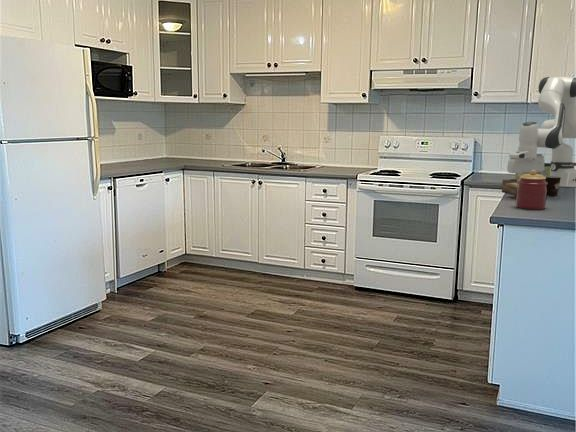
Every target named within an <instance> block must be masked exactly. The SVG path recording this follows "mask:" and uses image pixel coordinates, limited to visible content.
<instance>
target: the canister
mask: <svg viewBox="0 0 576 432" xmlns="http://www.w3.org/2000/svg"><path fill="white" fill-rule="evenodd" d="M520 178H521V179H520V180H519V181H518V182H517V183H518V188H517V195H516V201H515V207H516V208H519V209H522V210H523V209H524V210H544V209H546V206H547V196H546V193H547V190H546V185H547V184H548V183H547V182H546V181H545V179H546V177H544V176H543V175H540V174H536V171H535V170H531V172H530V174H523V175H522V176H520Z"/></svg>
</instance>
